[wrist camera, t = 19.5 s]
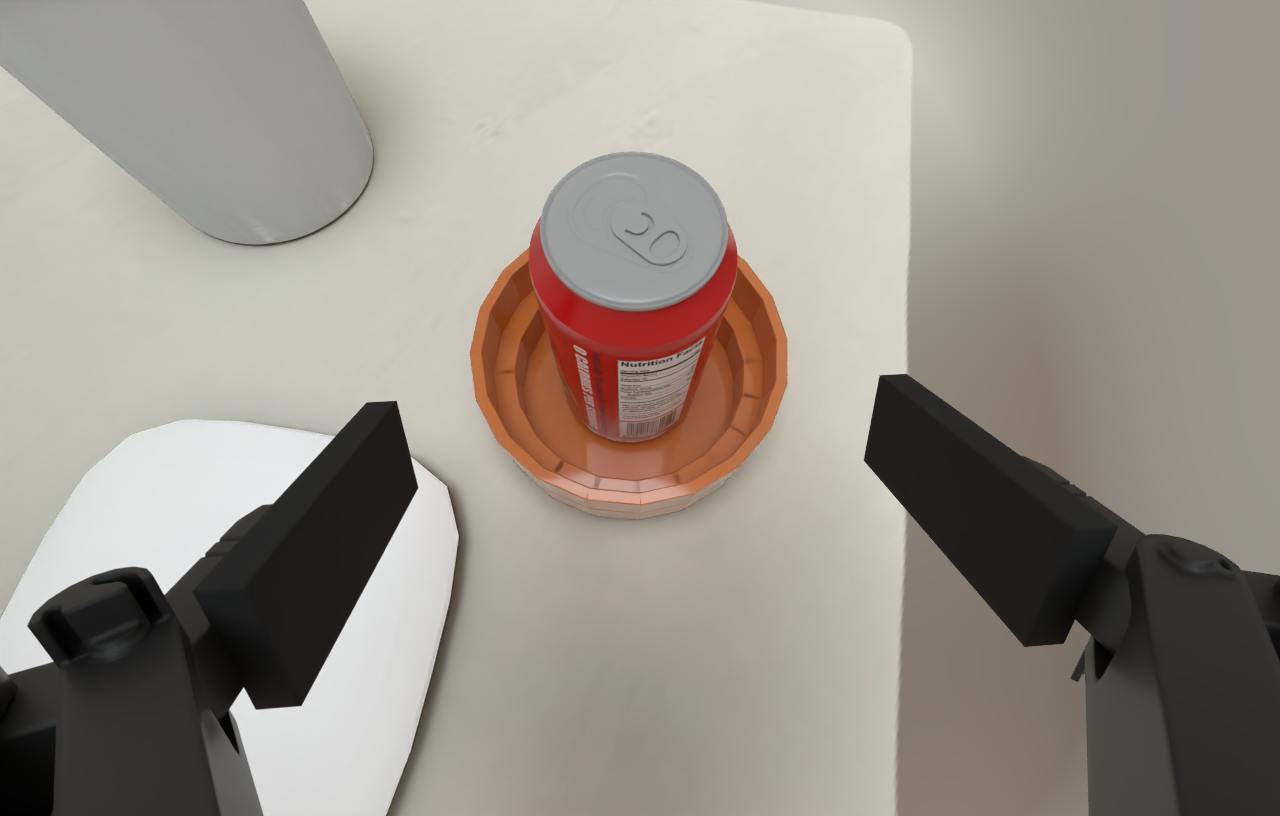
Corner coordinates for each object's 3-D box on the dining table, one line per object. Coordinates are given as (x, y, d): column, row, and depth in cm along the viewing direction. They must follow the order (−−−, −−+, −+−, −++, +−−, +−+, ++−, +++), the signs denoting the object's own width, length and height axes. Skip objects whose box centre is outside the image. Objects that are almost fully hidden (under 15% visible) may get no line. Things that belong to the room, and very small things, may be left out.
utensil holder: (237, 68, 40) (-30, -293, 24) (418, 113, 39) (270, -231, 23) (124, 220, 36) (-309, -101, 19) (327, 275, 35) (57, -12, 18)
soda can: (637, 474, 30) (649, 372, 16) (538, 391, 32) (469, 231, 18) (719, 379, 32) (794, 215, 18) (623, 305, 34) (622, 100, 20)
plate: (374, 931, 24) (355, 956, 22) (-85, 845, 24) (-135, 864, 23) (493, 466, 31) (486, 459, 29) (137, 408, 31) (111, 398, 30)
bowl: (442, 397, 32) (403, 355, 26) (620, 234, 36) (619, 168, 31) (641, 581, 29) (645, 579, 23) (810, 379, 33) (848, 335, 28)
